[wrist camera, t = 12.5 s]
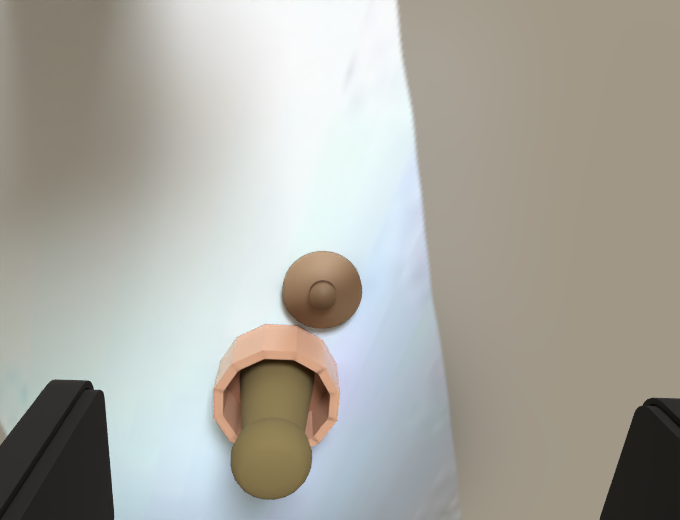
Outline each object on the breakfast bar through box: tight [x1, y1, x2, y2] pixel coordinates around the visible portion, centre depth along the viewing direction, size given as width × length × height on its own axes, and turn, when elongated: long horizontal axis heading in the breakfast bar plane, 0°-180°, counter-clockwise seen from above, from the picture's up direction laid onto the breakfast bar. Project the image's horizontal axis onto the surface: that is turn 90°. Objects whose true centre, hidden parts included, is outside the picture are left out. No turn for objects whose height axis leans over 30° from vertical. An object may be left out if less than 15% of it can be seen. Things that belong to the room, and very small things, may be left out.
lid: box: [283, 251, 362, 328], centre depth 40 cm, size 6×6×2 cm
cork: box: [231, 359, 315, 500], centre depth 38 cm, size 6×6×11 cm
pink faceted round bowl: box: [213, 324, 340, 447], centre depth 42 cm, size 9×9×4 cm
